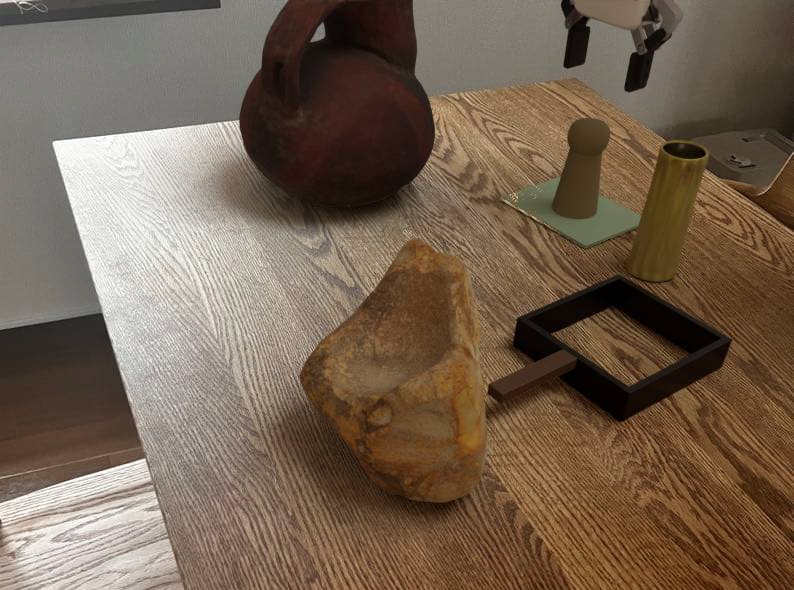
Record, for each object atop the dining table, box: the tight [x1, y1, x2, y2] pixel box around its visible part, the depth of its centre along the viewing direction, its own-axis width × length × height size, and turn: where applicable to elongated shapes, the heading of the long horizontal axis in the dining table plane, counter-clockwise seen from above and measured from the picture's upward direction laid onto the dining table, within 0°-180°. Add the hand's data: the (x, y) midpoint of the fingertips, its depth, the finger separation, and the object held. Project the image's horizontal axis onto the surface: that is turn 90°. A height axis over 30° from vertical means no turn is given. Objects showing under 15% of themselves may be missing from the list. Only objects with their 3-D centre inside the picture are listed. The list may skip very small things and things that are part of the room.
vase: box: [624, 139, 710, 283], centre depth 94 cm, size 6×6×14 cm
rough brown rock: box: [299, 237, 488, 503], centre depth 73 cm, size 23×17×15 cm
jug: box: [238, 0, 436, 208], centre depth 103 cm, size 25×25×25 cm
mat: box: [501, 176, 642, 250], centre depth 109 cm, size 12×16×1 cm
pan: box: [486, 273, 733, 423], centre depth 84 cm, size 26×16×4 cm, turn 127°
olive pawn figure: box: [551, 117, 611, 219], centre depth 105 cm, size 6×6×11 cm
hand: (603, 77), depth 97 cm, fingers open, 9 cm apart
